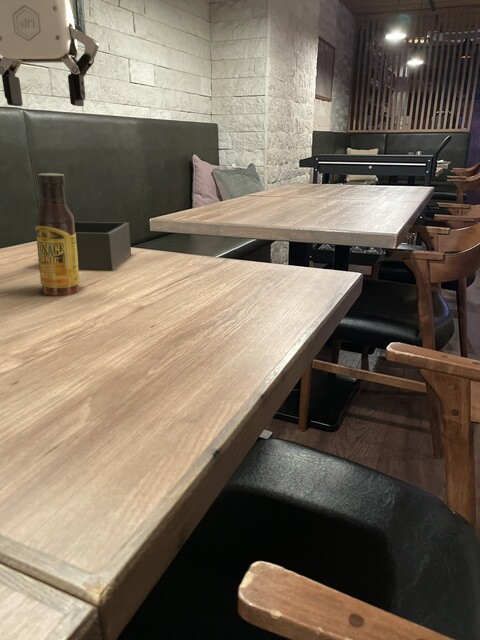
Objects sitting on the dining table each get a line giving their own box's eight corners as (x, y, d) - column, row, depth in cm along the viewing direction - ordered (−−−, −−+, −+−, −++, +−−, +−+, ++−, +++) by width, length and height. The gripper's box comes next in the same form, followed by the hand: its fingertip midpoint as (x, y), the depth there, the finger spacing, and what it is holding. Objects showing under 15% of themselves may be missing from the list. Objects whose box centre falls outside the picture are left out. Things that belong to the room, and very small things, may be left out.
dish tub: (41, 270, 99) (36, 232, 97) (68, 255, 112) (64, 221, 109) (112, 272, 98) (109, 233, 96) (131, 257, 111) (128, 222, 108)
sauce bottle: (34, 296, 84) (17, 174, 77) (57, 286, 89) (43, 172, 82) (67, 299, 82) (52, 175, 75) (89, 289, 87) (77, 173, 80)
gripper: (-48, -39, 64) (-24, 104, 70) (79, -43, 63) (92, 104, 68) (-14, -22, 71) (5, 107, 77) (101, -25, 70) (111, 107, 75)
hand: (46, 105), depth 73 cm, fingers open, 9 cm apart
